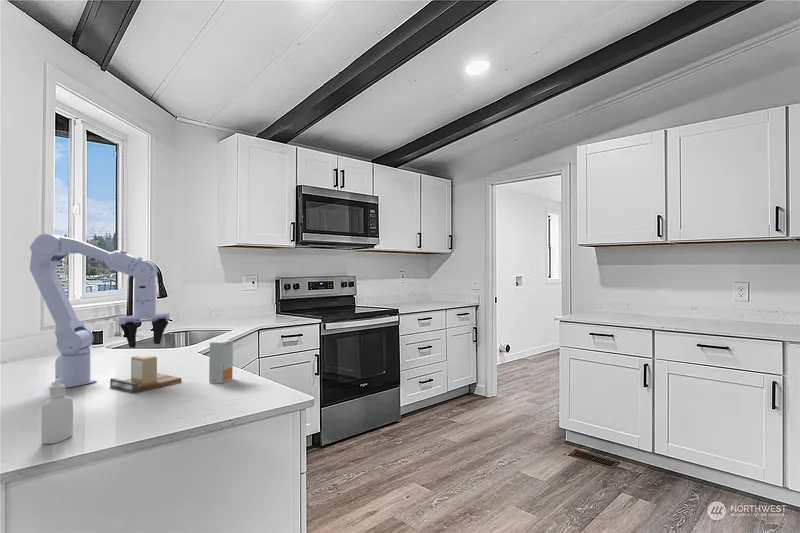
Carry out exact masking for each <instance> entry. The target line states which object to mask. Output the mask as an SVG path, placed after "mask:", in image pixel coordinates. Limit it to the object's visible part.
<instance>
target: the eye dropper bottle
mask: <svg viewBox="0 0 800 533" xmlns="http://www.w3.org/2000/svg"><path fill="white" fill-rule="evenodd" d="M54 380H55V379H54ZM54 382H55V384H52V385H51V386H50V387H49V397H50V398H49V399H47V400H46V401H45V402H44V403H43V404H42V406H41V444H43V445H55V444H57V443H60V442H63V441H65V440H68V439H69V438H71V437H72V436H73V435H74V434H73V433H74V409H73V408H74V402H73V401H74V400H73V398H72V397H71V396H67V395H66V387H65V385H63V384H61V381H60V379H56V380H55V381H54Z"/></svg>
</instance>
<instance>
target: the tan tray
mask: <svg viewBox="0 0 800 533" xmlns="http://www.w3.org/2000/svg"><path fill="white" fill-rule="evenodd" d="M109 380H110V381H109V384H110V386H109V387H110V388H112V389H116V390H120V391H124V392H129V393H133V394H135V393H136V394H137V393H140V392H145V391H149V390H153V389H157V388H162V387H166V386H170V385H175V384H179V383H182V377H179V376H172V375H167V374H162V373H158V372H157V381H155V382H151V383H146V384H140V383H136V382H131V378H128V379H119V378H114V377H113V378H110V379H109Z"/></svg>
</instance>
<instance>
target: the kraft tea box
mask: <svg viewBox="0 0 800 533" xmlns="http://www.w3.org/2000/svg"><path fill="white" fill-rule="evenodd" d="M130 360H131V361H130V366H131V367H130V368H131V369H130V370H131V371H130V372H131V374H130V379H131V382H136V383H140V384H146V383H151V382H155V381H157V373H158V357H157V356H154V355H147V354H143V355H136V356H132V357H131V359H130Z"/></svg>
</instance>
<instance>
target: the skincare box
mask: <svg viewBox="0 0 800 533" xmlns="http://www.w3.org/2000/svg"><path fill="white" fill-rule="evenodd" d="M233 346H234V340H233V339H219V340H214V341H211V342H210V343H209V367H208V368H209V370H208V372H209V373H208V374H209V376H208V377H209V380H208V381H209V383H210V384H223V383H225V382H228V381H230V379H231V380H233V371H234V370H233V367H234V366H233V364H234V362H233V361H234V358H233V356H234V354H233V353H234V352H233V351H234V348H233ZM227 380H228V381H227Z"/></svg>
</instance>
